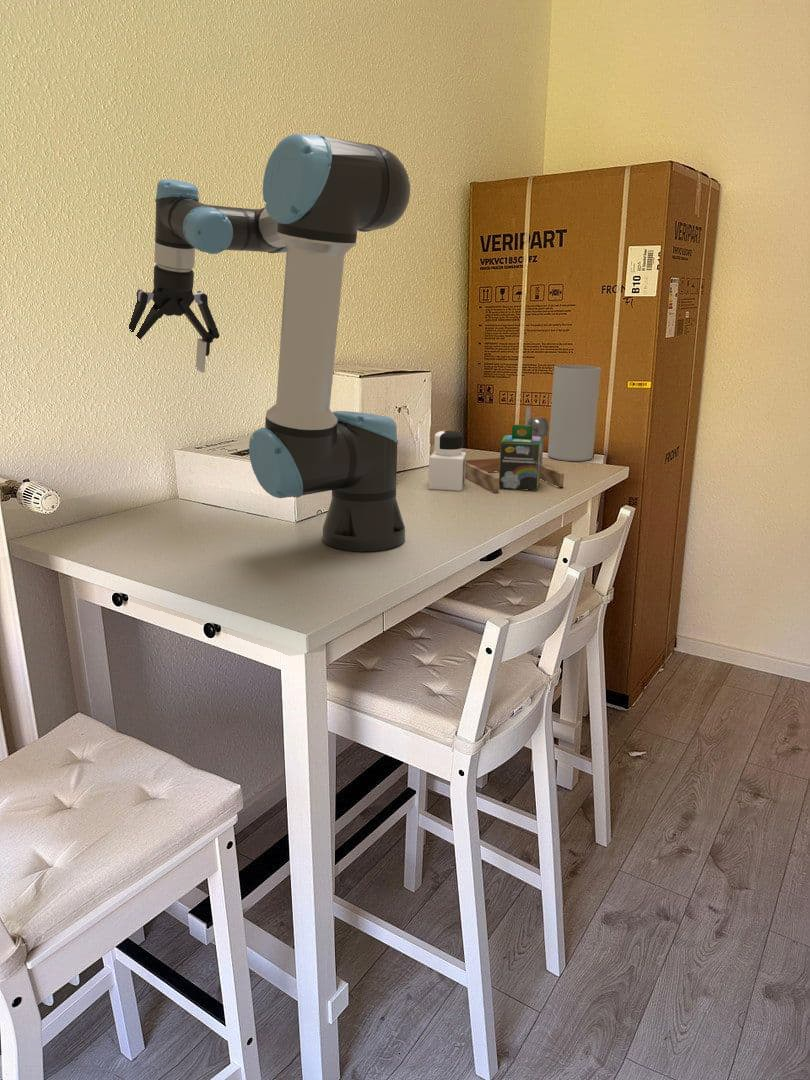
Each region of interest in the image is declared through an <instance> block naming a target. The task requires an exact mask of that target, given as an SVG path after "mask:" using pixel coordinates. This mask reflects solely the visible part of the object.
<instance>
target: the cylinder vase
mask: <svg viewBox="0 0 810 1080" xmlns="http://www.w3.org/2000/svg"><path fill="white" fill-rule="evenodd" d="M601 369H602V367H599V366H592V365H579V364H578V365H577V364H576V365H573V364H562V365H559V364H558V365H554V367H553V377H552V380H553V381H552V390H551V391H552V392H551V406H550V407H551V408H550V419H549V430H548V433H549V434H548V444H547V445H548V447H547V455H548V457H549V458H551V459H554V460H558V461H565V462H586V461H590V460H592V458H593V457H594V447H595V438H596V437H595V436H596V428H597V427H596V425H597V417H598V416H597V415H598V405H599V395H600V382H601V372H602V370H601Z"/></svg>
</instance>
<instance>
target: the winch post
mask: <svg viewBox="0 0 810 1080" xmlns="http://www.w3.org/2000/svg"><path fill="white" fill-rule="evenodd" d="M531 408H532V407H531V406H526V411H525V424H524V425H531V426H532V429H533V430H532V436H542V450H541V465H543V456H544V455H543V453H544V441H545V437H547V434H548V433H549V423H548V420H547V419H546V418H545V417H531V410H532V409H531ZM525 434H527V431H526V430H525Z"/></svg>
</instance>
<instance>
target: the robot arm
mask: <svg viewBox="0 0 810 1080" xmlns="http://www.w3.org/2000/svg"><path fill="white" fill-rule="evenodd" d="M410 184H411V182H410V178H409V175H408V172H407V170H406V167H405V166H404V164H403V163H402V161H401V160H400V159H399V158H398V157H397V156H396V155H395V153H393V152H391V151H390V150H388V149H386V148H384V147H382V146H379V145H374V144H371V143H370V144H369V143H362V142H356V141H351V140H345V139H341V138H336V137H330V136H325V135H320V134H319V133H318V134H310V133H293V134H290V135H288V136H285V137H284V138H283V139H281V140H280V141H279V142H278V143H277V145H276V147H275V148H274V149H273V150H272V152H271V153H270V155H269V158H268V160H267V163H266V166H265V169H264V175H263V182H262V198H263V201H264V202H265V205H264V206H265V207H262V208H242V207H234V206H224V205H223V206H222V205H215V204H204V203H201V202H200V198H199V189H198V187H197V185H196V184H194V183H191V182H187V181H182V180H177V179H169V178H167V179H166V178H165V179H163V178H162V179H160V180H159V181H158V183H157V186H156V187H157V188H156V197H155V200H154V202H155V227H154V228H155V230H154V231H155V232H154V240H155V241H154V257H153V259H154V260H153V261H154V263H155V265H154V267H153V290H152V291H151V292H149V291H144V290H142V289H137V291H136V296H137V303H136V305H135V309H134V312H133V315H132V318H131V322H130V324H129V329H131V330H132V331H131V330H130V331H131V332H134V330H135V328H136V326H137V325H138V324H139V322H140V321H141V318H142V316H143V314H144V312H145V309H146V308H147V305H148V304H150V303H151V302H150V301H151V300H152V301H153V304H154V305H153V304H152V305H153V307H152V306H151V307H152V308H151V307H150V308H151V310H150V312H149V311H148V312H149V314H148V315H147V317H146V319H145V321H144V323H143V324H142V326H141V328H140V330H139V332H138V333H137V335H136V336H137V337H138V338H139V339H140V341H141V340H142V339H143V338H144V336H145V335H146V334H147V333H148V331H150V329H151V328H152V327H153V326H154V325H155V323H156V322H157V321H158V320H159V319H161V318H162V317H163V316H164V315H165V316H166V317H171V316H177V317H181V316H183V315H184V316H186V319H188V321H189V323H190V324H191V325H192V326H193V328H194V329H195V331H196V332H197V333H198V334H199V335H200V338H196V339H197V343H196V356H195V357H196V360H195V368H196V367H197V369H196V370H197V371H199V372H200V373H205V371H206V369H205V368H206V357H209V356H210V350H211V343H213V342H214V339H219V338H220V332H219V329H218V328H217V325H216V322H215V320H214V316H213V315H212V312H211V310H210V307H209V302H208V299H209V297H208V294H206V293H205V292H203V291H202V290H199V291H197V292H195V293H193V289H194V279H195V277H194V276H195V271H194V270H193V269H194V268H195V260H196V250H198V252H199V251H200V252H202V253H207V254H211V255H217V254H220V253H222V252H223V251H235V252H236V251H237V252H238V251H247V252H258V253H259V252H260V253H268V254H278V253H279V254H280V253H285V267H284V283H283V284H284V285H283V298H282V299H283V300H282V313H281V326H280V327H281V329H280V342H279V355H278V358H279V359H278V372H277V386H276V388H277V389H276V403H275V404H274V405H272V406H271V407H270V408H269V409H267V410H266V412H265V423H264V424H265V425H264V427H259V428H258V429H256V430H254V431H253V433H252V435H251V436H250V438H249V443H248V452H249V453H248V454H249V460H250V461H249V462H250V464H251V468H252V471H253V473H254V475H255V477H256V480H257V482H258V483H259V486H260V487H261V488H262V489H263V491H265V492H266V493H267V494H269V495H270V496H271V497H274V498H276V499H277V498H278V499H287V498H300V497H303V496H308V495H313V494H318V493H319V494H320V493H324V492H325V493H326V492H331V500H330V503H329V507H328V510H327V513H326V516H325V519H324V523H323V526H322V541H323V543H324V544H325V545H327V546H329V547H332V548H335V549H339V550H344V551H351V552H377V551H385V550H390V549H393V548H396V547H399V546H402V545H403V543H405V542H406V541H405V540H406V527H405V523H404V521H403V518H402V514H401V510H400V507H399V504H398V501H397V468H398V467H397V465H398V444H399V440H398V433H397V431H398V429H397V428H398V427H397V424H396V421H395V420H394V419H392V418H391V417H389V416H385V415H380V414H374V413H368V412H367V413H366V412H359V411H347V410H346V411H345V410H334V411H332V410H331V409H330V407H331V398H332V387H333V386H332V385H333V378H334V367H335V357H336V347H337V346H336V344H337V336H338V324H339V317H340V316H339V314H340V305H341V294H342V286H343V285H342V284H343V276H344V275H343V274H344V265H345V263H344V262H345V255H346V254H347V253H348V252H349V251H350V250H351V249H352V248H353V247H355V246H356V244H357V238H358V232H361V233H362V232H363V233H368V232H371V231H372V232H373V231H376V230H380V229H381V230H382V229H386V228H388V227H390V226H393V225H394V224H396V222H397V221H399V220H400V218H402V216H403V215H404V214H405V212H406V210H407V208H408V206H409V205H408V204H409V202H410V197H411V185H410ZM193 302H195V303H196V304H197V306H198V308H199V311H200V313H201V316H202V319H203V321H204V324H205V325H206V328H207V330H206V328H205V327H204V325H203V324H202V323H201V321H200V320H199V318H198V317H197V316H196V313H194V311H193V310H192V308H191V307H190V306H191V305H192V304H193ZM142 345H143V346H144V344H142Z"/></svg>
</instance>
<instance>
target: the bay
mask: <svg viewBox="0 0 810 1080" xmlns="http://www.w3.org/2000/svg"><path fill="white" fill-rule="evenodd" d="M494 471H500V457H489V458H487V457H486V458H474V459H473V458H472V459H466V469H465V479H467V480H469V481H470V480H471V482H472V483H474V484H476V483H477V484H476V485H478V484H479V485H478V486H480V485H481V486H480V487H482V486H483V487H482V488H484V487H485V488H484V489H486V488H487V489H489V490H491V491H493V492H498V493H499V476H496V475H494V474H493V473H495V472H494ZM488 472H491V473H488ZM540 479H542V480H544V481H547V482H549V483H551V484H553V485H556V486H558V487H563V488H564V479H565V473H564V472H561V471H558V470H556V469H554V468H551V467H549V466H546V465H543V464H542V465H541V469H540ZM544 481H543V482H544ZM553 485H552V486H553ZM487 489H486V490H487ZM489 490H488V491H489ZM491 491H490V492H491ZM493 492H492V493H493Z"/></svg>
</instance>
